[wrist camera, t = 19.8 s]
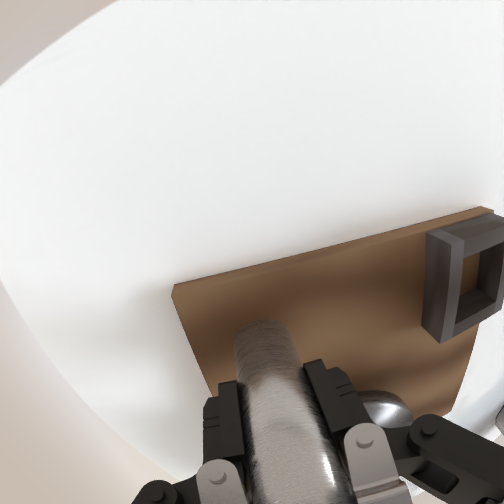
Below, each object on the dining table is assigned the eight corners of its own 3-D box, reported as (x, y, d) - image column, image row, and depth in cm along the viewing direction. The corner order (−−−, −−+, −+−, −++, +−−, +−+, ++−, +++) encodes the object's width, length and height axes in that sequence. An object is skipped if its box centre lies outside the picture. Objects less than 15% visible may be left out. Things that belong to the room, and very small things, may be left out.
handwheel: (335, 367, 14) (384, 464, 8) (429, 407, 18) (467, 462, 11) (215, 468, 17) (220, 544, 10) (327, 486, 20) (345, 539, 14)
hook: (297, 371, 14) (368, 566, 4) (245, 383, 14) (281, 588, 4) (283, 293, 13) (397, 550, 2) (220, 309, 13) (246, 588, 2)
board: (445, 404, 22) (461, 424, 19) (256, 473, 21) (261, 502, 18) (481, 206, 15) (517, 218, 12) (174, 284, 14) (164, 320, 11)
